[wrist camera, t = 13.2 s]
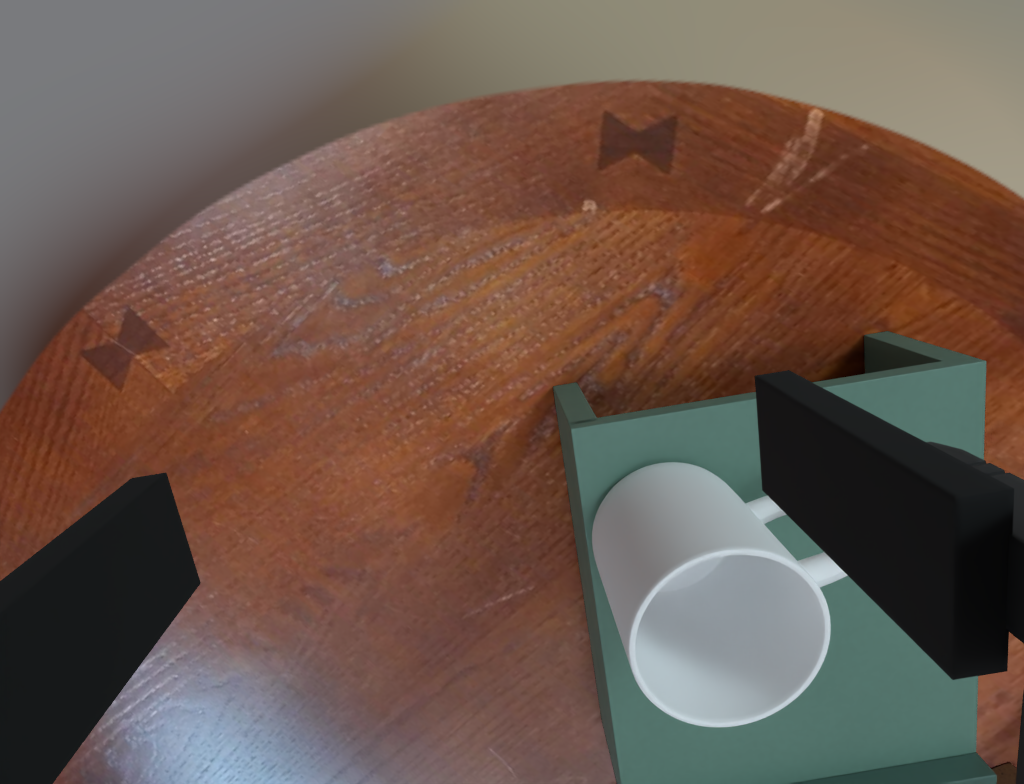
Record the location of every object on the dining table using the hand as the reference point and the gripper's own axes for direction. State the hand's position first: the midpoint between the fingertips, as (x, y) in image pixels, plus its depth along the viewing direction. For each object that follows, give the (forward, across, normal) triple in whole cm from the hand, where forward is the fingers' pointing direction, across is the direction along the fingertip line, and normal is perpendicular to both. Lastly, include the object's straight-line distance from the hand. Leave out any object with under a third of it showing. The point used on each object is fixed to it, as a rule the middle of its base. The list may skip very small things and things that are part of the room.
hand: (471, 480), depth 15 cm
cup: (+20, +10, -12) cm, 25 cm away
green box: (+29, +15, -19) cm, 38 cm away
